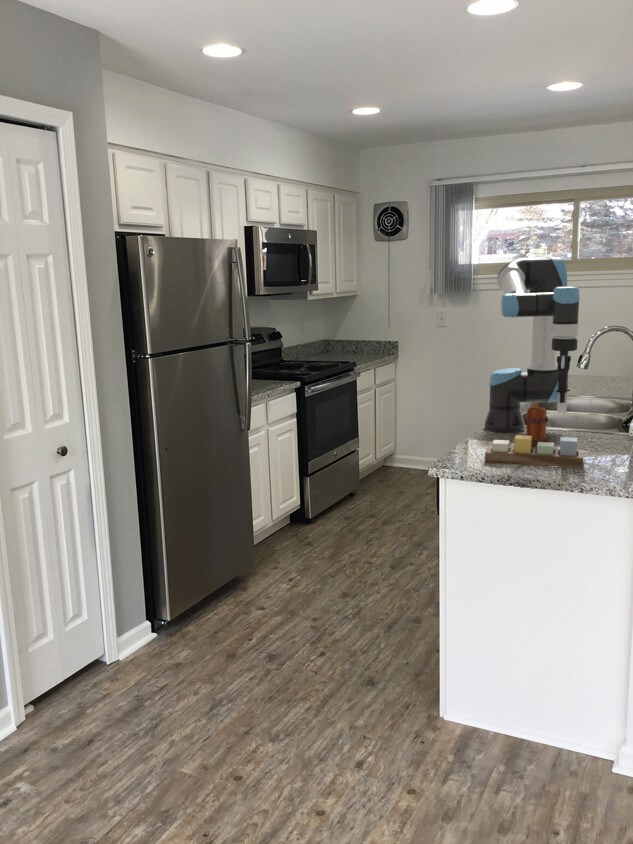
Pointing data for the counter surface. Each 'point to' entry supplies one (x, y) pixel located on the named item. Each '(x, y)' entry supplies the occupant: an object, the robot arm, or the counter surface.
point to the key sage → (545, 448)
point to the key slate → (568, 446)
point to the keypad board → (534, 458)
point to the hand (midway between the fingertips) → (561, 412)
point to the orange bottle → (536, 424)
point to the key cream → (501, 445)
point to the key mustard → (523, 444)
